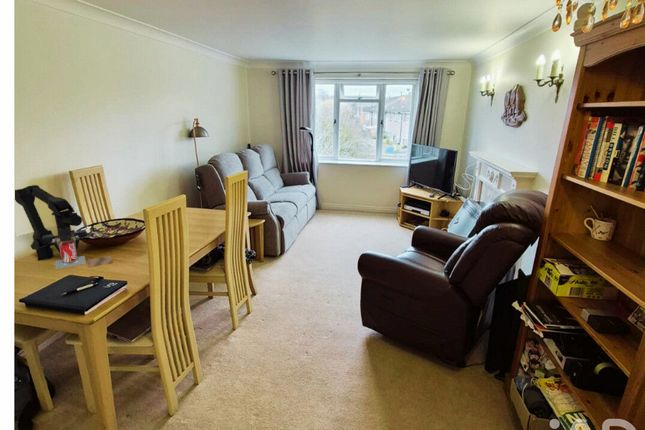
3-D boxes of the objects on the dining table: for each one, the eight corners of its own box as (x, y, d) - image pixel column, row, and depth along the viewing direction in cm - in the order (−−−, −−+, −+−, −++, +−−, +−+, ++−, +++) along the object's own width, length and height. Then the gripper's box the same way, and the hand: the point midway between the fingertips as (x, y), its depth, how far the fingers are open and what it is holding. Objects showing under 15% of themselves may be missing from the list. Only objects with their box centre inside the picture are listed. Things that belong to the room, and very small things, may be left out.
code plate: (55, 269, 177) (55, 268, 177) (55, 261, 186) (55, 260, 186) (85, 263, 185) (85, 263, 185) (84, 256, 194) (84, 255, 194)
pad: (88, 267, 180) (88, 266, 180) (87, 260, 189) (87, 259, 189) (113, 262, 187) (113, 262, 186) (110, 255, 195) (110, 255, 195)
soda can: (70, 264, 181) (65, 242, 178) (58, 262, 183) (54, 241, 179) (81, 258, 188) (77, 238, 184) (70, 257, 189) (66, 237, 186)
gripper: (39, 231, 168) (46, 260, 172) (85, 224, 178) (90, 252, 183) (40, 224, 176) (46, 253, 181) (84, 219, 187) (88, 246, 191)
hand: (68, 251), depth 184 cm, fingers closed on soda can, 7 cm apart
